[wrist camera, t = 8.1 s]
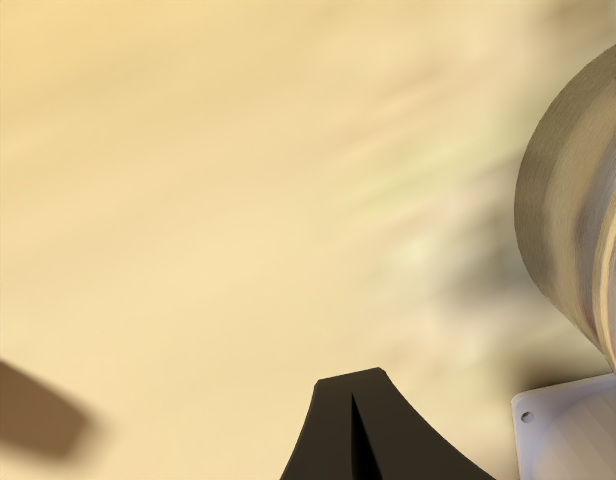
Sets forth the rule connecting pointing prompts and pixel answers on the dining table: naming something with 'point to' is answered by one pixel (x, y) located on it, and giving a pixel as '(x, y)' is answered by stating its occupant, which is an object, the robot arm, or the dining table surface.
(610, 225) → the cooker lid
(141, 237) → the dining table surface
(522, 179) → the cooker pot
